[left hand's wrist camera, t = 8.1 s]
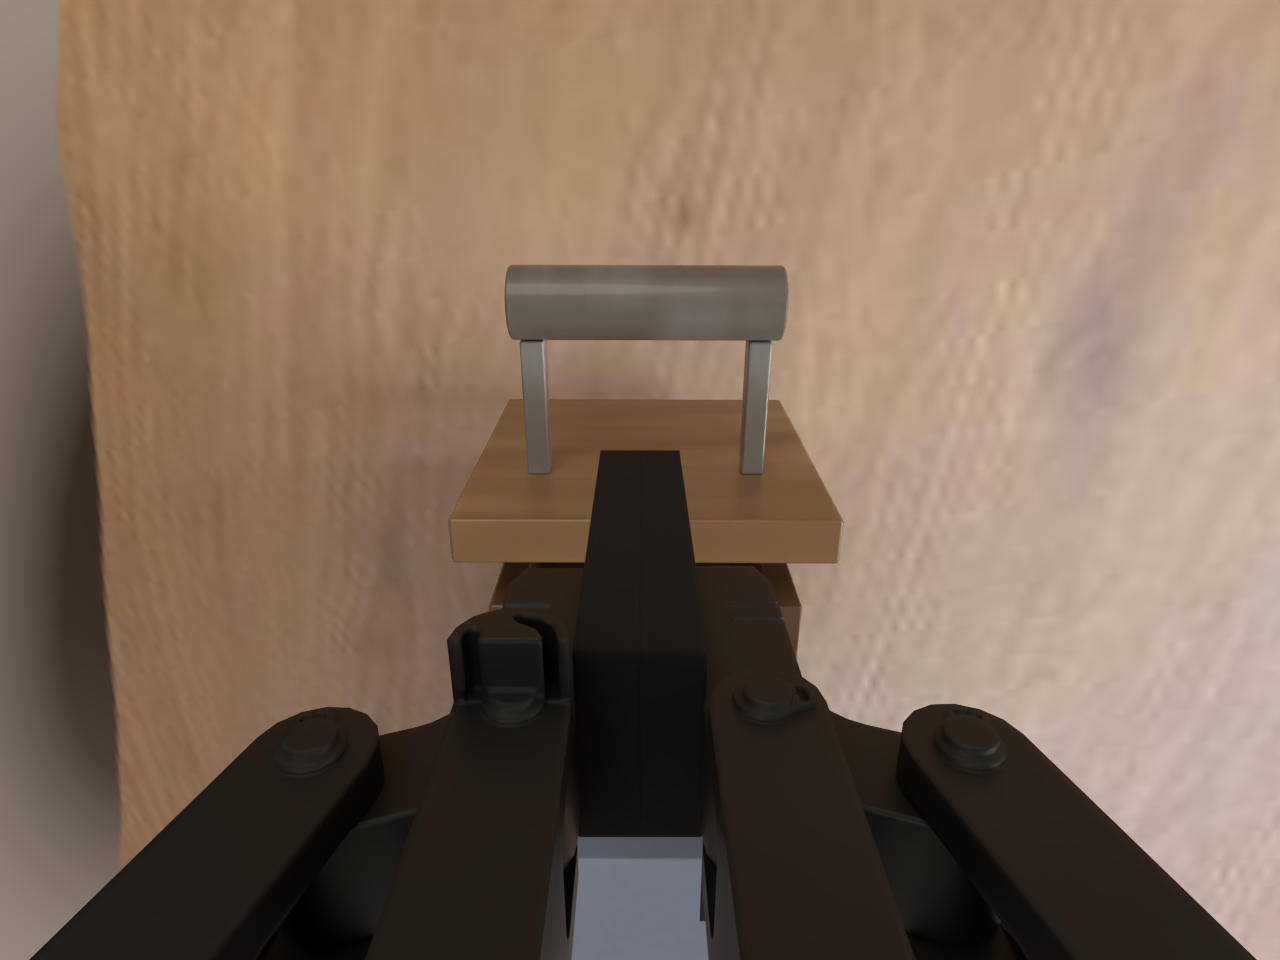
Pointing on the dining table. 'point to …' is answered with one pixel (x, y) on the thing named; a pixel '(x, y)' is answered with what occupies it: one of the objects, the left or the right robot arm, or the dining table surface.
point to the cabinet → (639, 899)
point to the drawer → (648, 429)
